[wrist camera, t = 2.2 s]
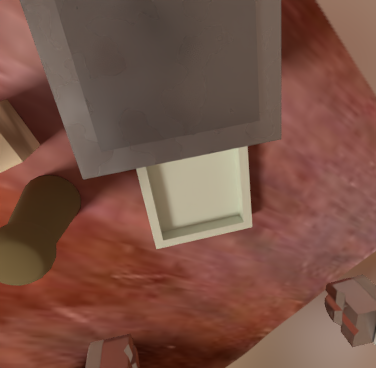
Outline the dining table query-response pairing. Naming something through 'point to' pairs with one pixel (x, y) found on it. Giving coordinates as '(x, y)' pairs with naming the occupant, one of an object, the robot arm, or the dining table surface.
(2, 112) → the maple block
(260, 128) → the box
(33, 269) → the cork
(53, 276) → the dining table surface
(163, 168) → the tray
